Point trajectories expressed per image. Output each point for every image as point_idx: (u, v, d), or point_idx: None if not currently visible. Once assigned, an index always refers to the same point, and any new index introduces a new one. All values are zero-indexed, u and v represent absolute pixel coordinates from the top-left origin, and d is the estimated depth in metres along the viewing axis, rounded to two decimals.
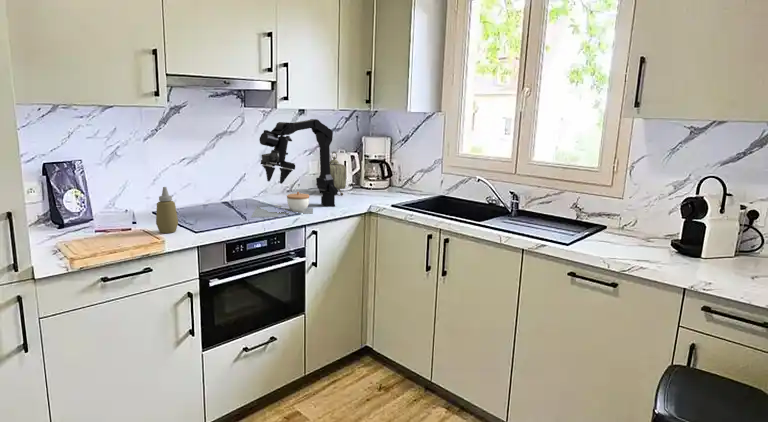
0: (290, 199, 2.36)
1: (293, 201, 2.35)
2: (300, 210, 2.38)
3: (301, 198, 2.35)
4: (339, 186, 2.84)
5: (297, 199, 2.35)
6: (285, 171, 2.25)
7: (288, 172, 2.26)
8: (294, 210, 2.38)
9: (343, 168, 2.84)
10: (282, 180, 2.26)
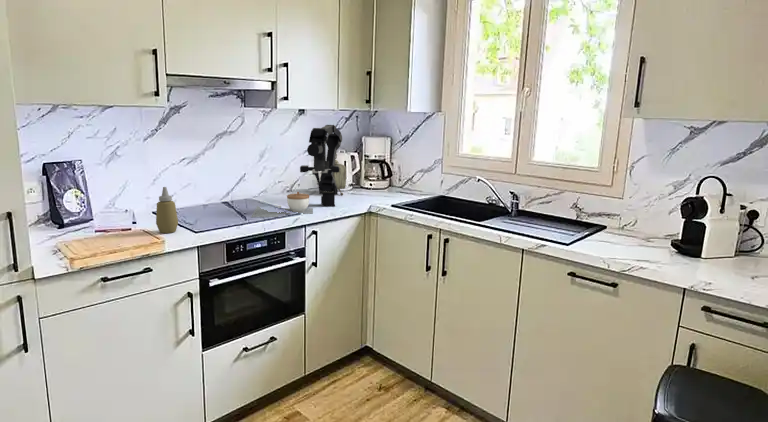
0: (290, 199, 2.36)
1: (293, 201, 2.35)
2: (300, 210, 2.38)
3: (301, 198, 2.35)
4: (339, 186, 2.84)
5: (297, 199, 2.35)
6: None
7: None
8: (294, 210, 2.38)
9: (343, 168, 2.84)
10: (321, 183, 2.40)
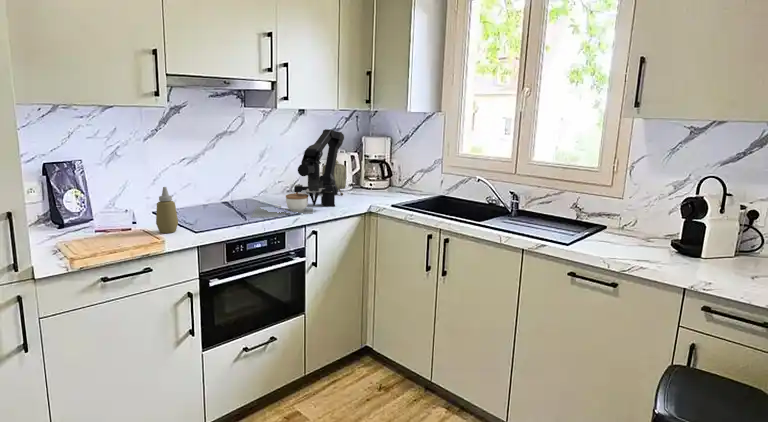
0: (289, 199, 2.36)
1: (292, 201, 2.35)
2: (299, 210, 2.38)
3: (300, 198, 2.35)
4: (339, 186, 2.84)
5: (296, 199, 2.35)
6: None
7: None
8: (293, 210, 2.38)
9: (343, 168, 2.84)
10: (315, 202, 2.42)
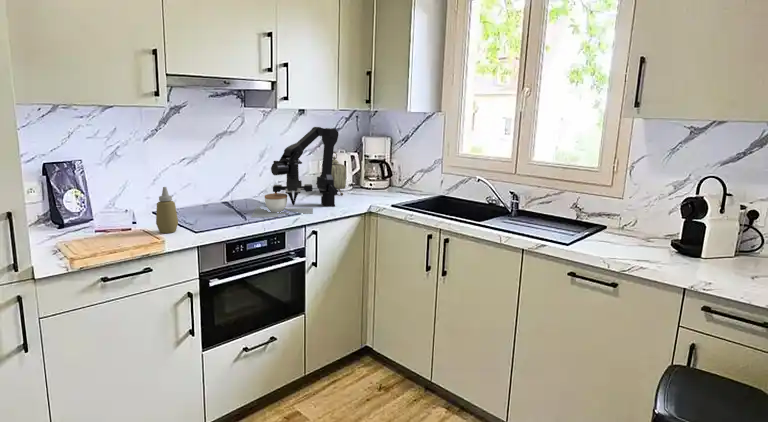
0: (267, 199, 2.34)
1: (270, 201, 2.34)
2: (278, 210, 2.37)
3: (278, 198, 2.34)
4: (339, 186, 2.84)
5: (274, 199, 2.33)
6: None
7: None
8: (272, 210, 2.37)
9: (343, 168, 2.83)
10: (294, 202, 2.40)
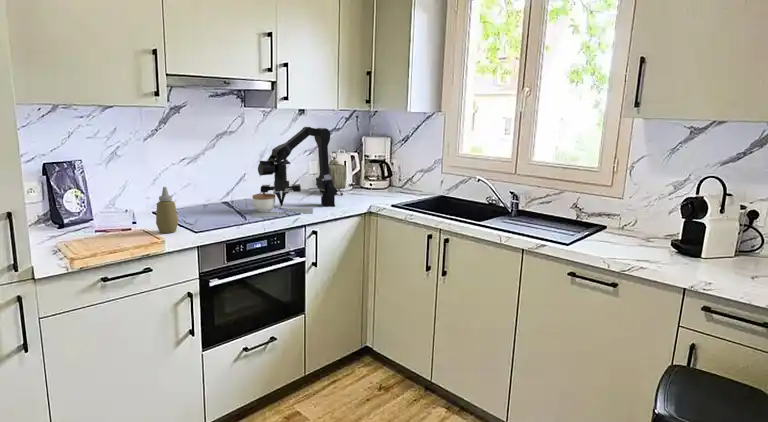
0: (255, 199, 2.34)
1: (258, 201, 2.33)
2: (266, 210, 2.36)
3: (266, 198, 2.33)
4: (339, 186, 2.84)
5: (262, 199, 2.33)
6: None
7: None
8: (260, 210, 2.36)
9: (343, 168, 2.84)
10: None
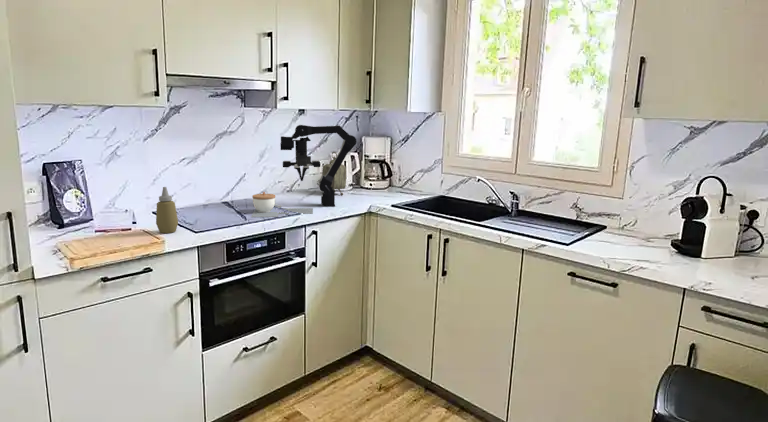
0: (255, 199, 2.34)
1: (258, 201, 2.33)
2: (266, 210, 2.36)
3: (266, 198, 2.33)
4: (339, 186, 2.84)
5: (262, 199, 2.33)
6: None
7: None
8: (259, 210, 2.36)
9: (343, 168, 2.84)
10: (303, 177, 2.52)
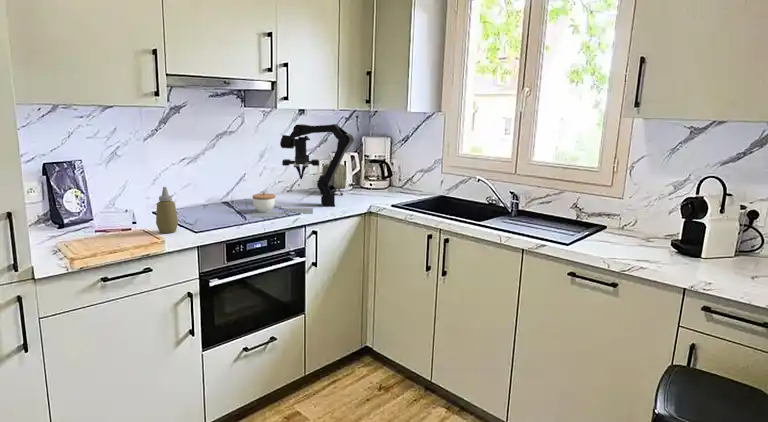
0: (255, 199, 2.34)
1: (258, 201, 2.33)
2: (266, 210, 2.36)
3: (266, 198, 2.33)
4: (339, 186, 2.84)
5: (262, 199, 2.33)
6: None
7: None
8: (259, 210, 2.36)
9: (343, 168, 2.83)
10: (302, 176, 2.58)
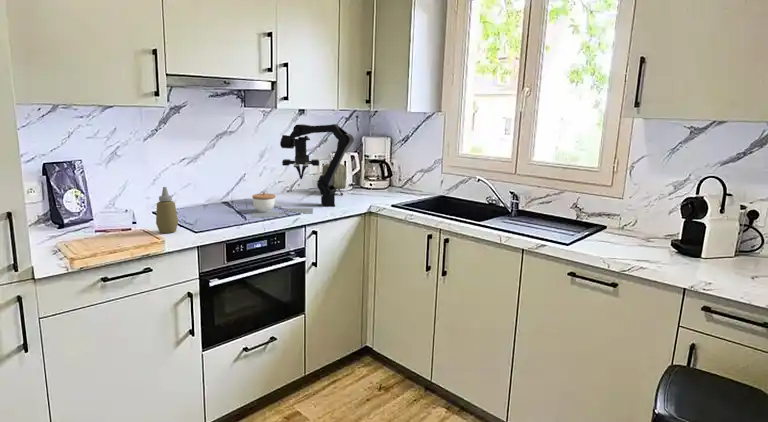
0: (255, 199, 2.34)
1: (258, 201, 2.33)
2: (266, 210, 2.36)
3: (266, 198, 2.33)
4: (339, 186, 2.84)
5: (262, 199, 2.33)
6: None
7: None
8: (259, 210, 2.36)
9: (343, 168, 2.84)
10: (302, 176, 2.58)
